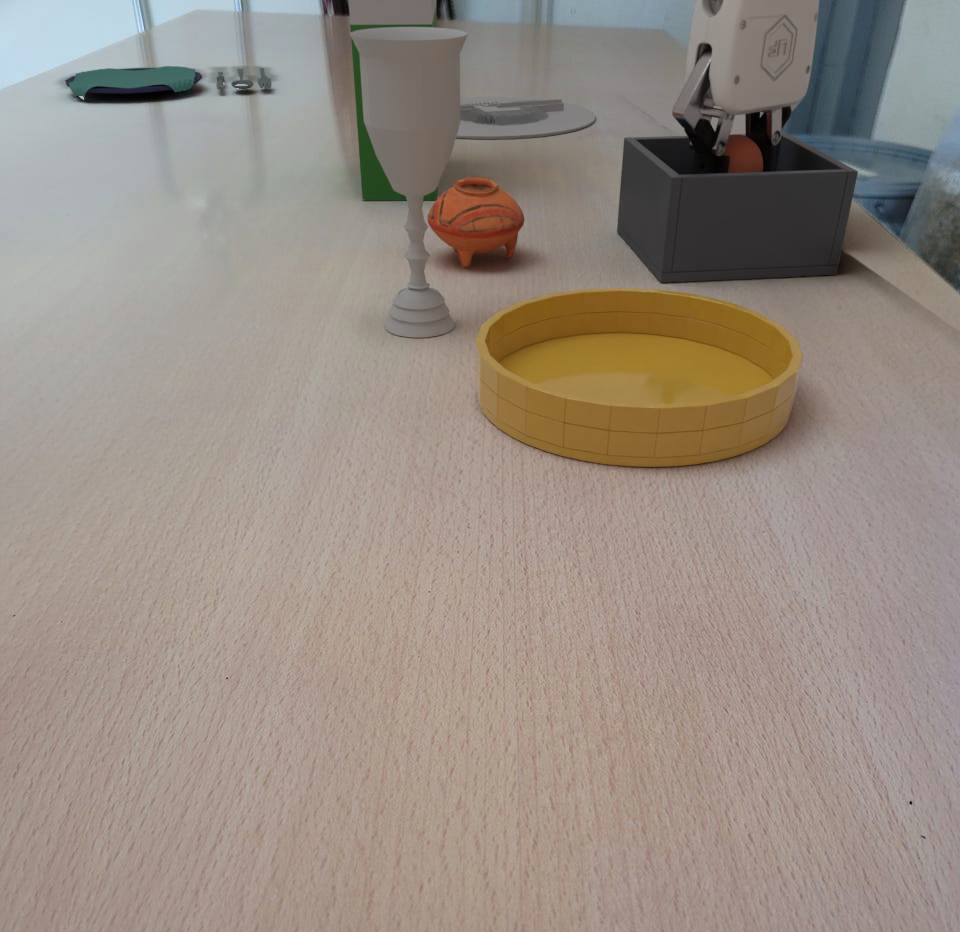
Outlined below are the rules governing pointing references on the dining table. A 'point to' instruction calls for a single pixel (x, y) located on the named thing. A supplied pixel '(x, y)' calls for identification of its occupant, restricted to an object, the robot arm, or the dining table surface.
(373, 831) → the dining table surface
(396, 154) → the chalice
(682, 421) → the bowl
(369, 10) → the white green box
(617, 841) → the dining table surface
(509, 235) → the pot
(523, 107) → the plate
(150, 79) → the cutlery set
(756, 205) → the bin
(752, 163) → the toy ball
